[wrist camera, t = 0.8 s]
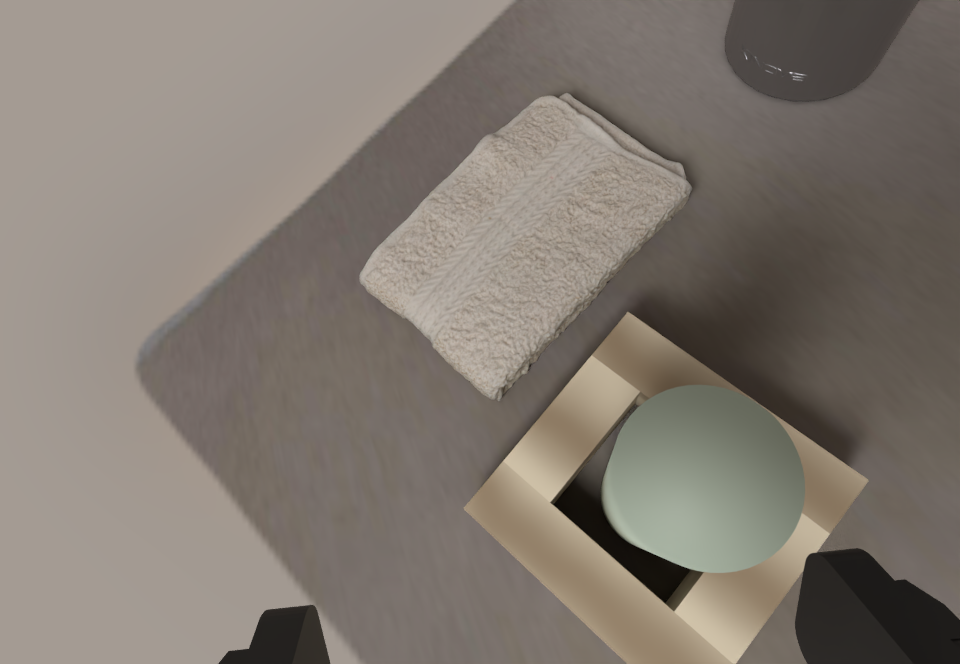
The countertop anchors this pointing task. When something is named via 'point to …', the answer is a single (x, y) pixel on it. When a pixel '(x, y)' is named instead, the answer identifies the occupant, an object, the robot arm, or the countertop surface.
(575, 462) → the pocket block
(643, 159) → the washcloth
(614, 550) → the countertop surface
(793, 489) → the green cylinder
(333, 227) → the countertop surface
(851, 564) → the robot arm
